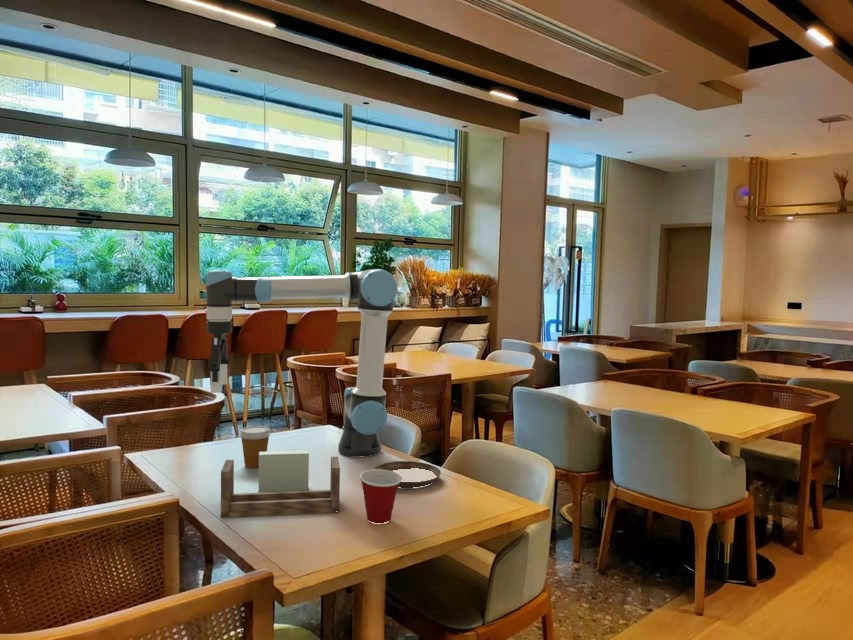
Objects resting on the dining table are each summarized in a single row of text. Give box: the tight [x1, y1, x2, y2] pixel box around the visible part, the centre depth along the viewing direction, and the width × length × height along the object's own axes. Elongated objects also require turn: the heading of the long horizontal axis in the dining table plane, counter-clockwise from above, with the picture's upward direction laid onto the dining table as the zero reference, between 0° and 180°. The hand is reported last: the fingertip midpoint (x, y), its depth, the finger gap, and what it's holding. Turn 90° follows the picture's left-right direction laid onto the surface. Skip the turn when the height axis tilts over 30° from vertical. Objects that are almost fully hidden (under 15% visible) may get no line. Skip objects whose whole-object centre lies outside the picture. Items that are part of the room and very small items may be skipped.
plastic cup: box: [359, 468, 402, 523], centre depth 156 cm, size 11×11×12 cm
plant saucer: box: [374, 460, 442, 488], centre depth 188 cm, size 21×21×3 cm
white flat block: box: [258, 449, 310, 493], centre depth 177 cm, size 14×3×11 cm, turn 101°
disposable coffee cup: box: [239, 425, 271, 470], centre depth 197 cm, size 10×10×12 cm
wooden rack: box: [220, 456, 341, 518], centre depth 163 cm, size 30×10×12 cm, turn 101°
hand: (219, 388), depth 190 cm, fingers open, 13 cm apart
